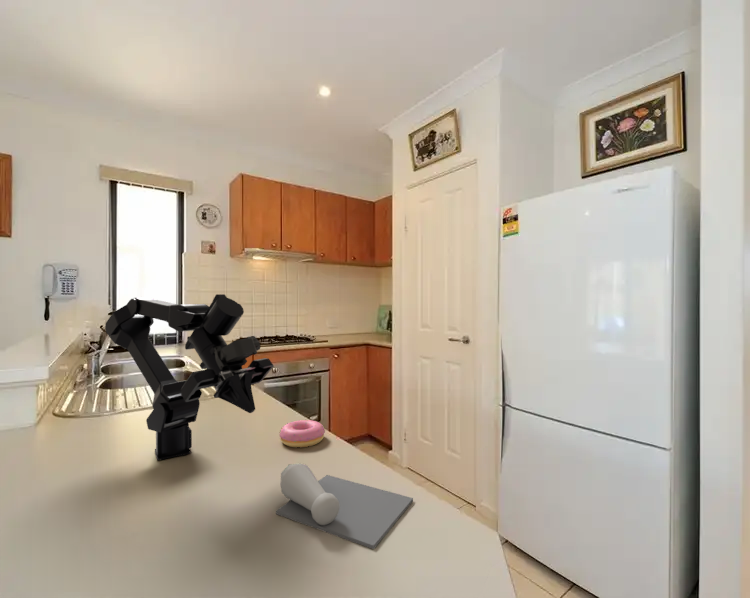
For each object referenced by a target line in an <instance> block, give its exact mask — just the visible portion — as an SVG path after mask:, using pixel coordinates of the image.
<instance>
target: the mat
mask: <svg viewBox="0 0 750 598" xmlns="http://www.w3.org/2000/svg"><path fill="white" fill-rule="evenodd" d="M318 482H319V484H320V485H321V487H322V488H323V490H324V491H325V492H326V493H331V494H333V495H334V496H335V497H336V498H337V500H338V501H339V506H340V508H339V512H338V515H337V516H336V518H335V519H334V520H333V521H332V522H331V523H329V524H327V525H320V524H318V523H317V522H316V521H315V520H314V519H313V517H312V513H311V510H309V509H307V508H305V507H303V506H301V505H299V504H297V503H296V502H294V501H292V500H290V499H289V501H288V502H286V503H284V504H283V505H282V506H280V507H278V508H277V509H276V510H275V514H276V515H278V516H281V517H284V518H285V519H288V520H289V519H290V520H292V521H295V522H297V523H300V524H302V525H306V526H308V527H311V528H314V529H316V530H320V531H323V532H325V533H328V534H330V535H333V536H336V537H339V538H342V539H344V540H348V541H350V542H352V543H355V544H357V545H361V546H364V547H366V548H369V549H371V550H374V549H376V547H377V546H378V545H379V543H380V542H381V541H382V540H383V538H384V537H385V536H386V535H387V534H388V533H389V531H390V530H391V529H392V528H393V527H394V525H395V524H396V522H398V520H399V519H400V517H401V516H402V515H403V514H404V513H405V512H406V511H407V509H408V508H409V507H410V506H411V504H412V503H413V502H414V497H410V496H407V495H402V494H399V493H395V492H392V491H388V490H386V489H385V490H384V489H382V488H381V489H380V488H377V487H374V486H370V485H366V484H362V483H359V482H354V481H351V480H348V479H345V478H340V477H336V476H333V475H330V474H326V475H324V476H323V477H322V478H320V479H319V480H318Z"/></svg>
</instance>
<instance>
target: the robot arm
mask: <svg viewBox="0 0 750 598" xmlns="http://www.w3.org/2000/svg"><path fill="white" fill-rule="evenodd" d="M243 315H244V308H243V306H242V305H241V304H240V303H238V302H237V301H235V300H234V299H232V298H229V297H227V295H226V294H225V293H224V294H222V293H221V294H220V293H219V294H218V293H217V294H215V296H214V297H213V299H212V301H211V303H210V305H207V304H205V303H200V304H199V303H197V304H196V303H193V304H191V303H190V304H189V303H186V304H178V303H174V302H173V303H172V302H168V301H163V300H158V299H155V298H152V297H133V298H131V299H130V300H128V302H127V304H125V305H124V306H122V307H120V308H118V309H116V310H115V311H113V312H112V314H111V315H110V316H109V318H108V319H107V321H106V322H105V326H104V327H105V328H104V329H105V330H104V331H105V333H106V334H107V336H108V338H110V339H111V341H112V342H113V343H114V344H115V345H117V346H119V347H122V348H123V349H126V350H127V351H128V353H129V354H130V356H131V358H132V360H133V361H134V362H135V364H136V366H137V368H138V369H139V371H140V373H141V374H142V376H143V378H144V379H145V381H146V382H147V384H148V385H149V387H150V389H151V391H152V393H153V395H154V396H153V400H152V409H153V410H152V411H151V413H150V414H149V415H148V417H147V418H146V420H145V421H146V426H147V429H148V430H149V431H153V432H155V448H154V453H155V457H156V459H157V461H163V460H166V459H167V460H168V459H171V458H176V457H179V456H184V455H189V454H191V452H192V451H191V449H192V445H193V443H192V442H193V441H192V433H193V432H192V429H191V427H190V426H189V425H190V424H189V423H194V422H197V417H198V413H199V409H200V405H201V404H200V398H201V396H202V394H203V392H202V389H207V388H212V387H213V388H214V389H215V392H214V394H213V396H212V397H213V398H214V399H220V400H222V401H225V402H227V403H229V404H231V405H233V406H236V407H238V408H239V409H241V410H242V411H245V412H247V413H248V414H252V413H254V412H255V411H256V405H255V400H254V396H253V391H252V386H253V385H256V384H259V383H261V382H262V381H263V380H264V379H265V378H266V376H267V375H268V374H269V373H270V372H271V370H272V369H273V368H274V364H273V362H272V361H271V360H270V358H266V357H264V358H259V359H258V358H257V359H254V360H252V361H251V362H250V363H249V364H248V366H247V367H246V368H243V366H245V365H246V364H247V362H248V360H247V359H248V358H250V357H251V356H253V355H257V354H258V351H259V350H261V343H260V341H259V340H258V338H257V337H256V336H255V335H250V336H247V338H242V339H237V340H234V341H232V342H230V343H227V342H226V340H225V338H224V337H223V336H228V335H229V334H230V333H231V332H232V330H233V329H234V327H235V326H236V325H237V324H238V322H239V320H240V319H241V318H242V316H243ZM154 319H156V320H160V321H163V322H166V323H167V324H168V327H170V328H172V329H173V330H175V331H176V332H179V333H180V332H192V333H191V334H190V336H187V339H186V342H185V345H184V349H185V350H186V351H187V350H193V349H194V350H195V352H196V354H197V355H198V357H199V358H200V360H201V363H200V364H199V367H200V370H197V371H192V372H191V374H190V375H189V376H188V378H187V379H186V380H181V381H178V380H176V378H175V377H174V375H173V374H172V372H171V370H170V369H169V368H168V366H167V364H166V363H165V361H164V360H163V358H162V357H161V355H160V354H159V352H158V350H157V349H156V347H155V345H154V344H153V342H152V341H151V340H150V338H149V337H150V334H151V332H150V331H151V326H152V325H153V324H154Z"/></svg>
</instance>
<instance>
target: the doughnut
mask: <svg viewBox="0 0 750 598" xmlns="http://www.w3.org/2000/svg"><path fill="white" fill-rule="evenodd" d="M325 433H326V430H325V426H324V425H323V424H322V423H320V422H319V421H317V420H312V419H301V420H300V419H299V420H294V421H291V422H287V423H286V424H285V425H283V426H282V427H281V429H280V430H279V439H280V441H281V443H282V444H284V445H285V446H287V447H290V448H297V447H300V448H306V447H307V448H308V446H309V447H312V446H315V445H318V444H319V443H320V442H321V441H322V440H323V438H324V437H325Z"/></svg>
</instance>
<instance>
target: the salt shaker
mask: <svg viewBox="0 0 750 598" xmlns="http://www.w3.org/2000/svg"><path fill="white" fill-rule="evenodd" d="M315 475H316V474H314V472H313V471H312V470H311V468H310V467H309V465H307V464H304V463H301V462H300V463H299V462H298V463H293V464H292V463H290V464H288V465H287V466H286V467H285V468H284V469H283V470H282V471H281V472H280V491H281V493H282V495H283V496H284V497H285V498H287V499H288V500H289V501H290V500H292V501H294V502H296V503H297V504H299V505H301V506H303V507H305V508H307V509H309V510H311V513H312V517H313V519H314V520H315V521H316V522H317V523H318V524H320V525H327V524H329V523H331V522H332V521H333V520H334V519H335V518H336V516H337V515H338V512H339V508H340V506H339V501H338V500H337V498H336V497H335V496H334V495H333V494H331V493H326V492H325V491H324V490H323V488H322V487H321V485H320V484H319V482H318V481H319V480H318V479H317V477H316V476H315Z"/></svg>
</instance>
